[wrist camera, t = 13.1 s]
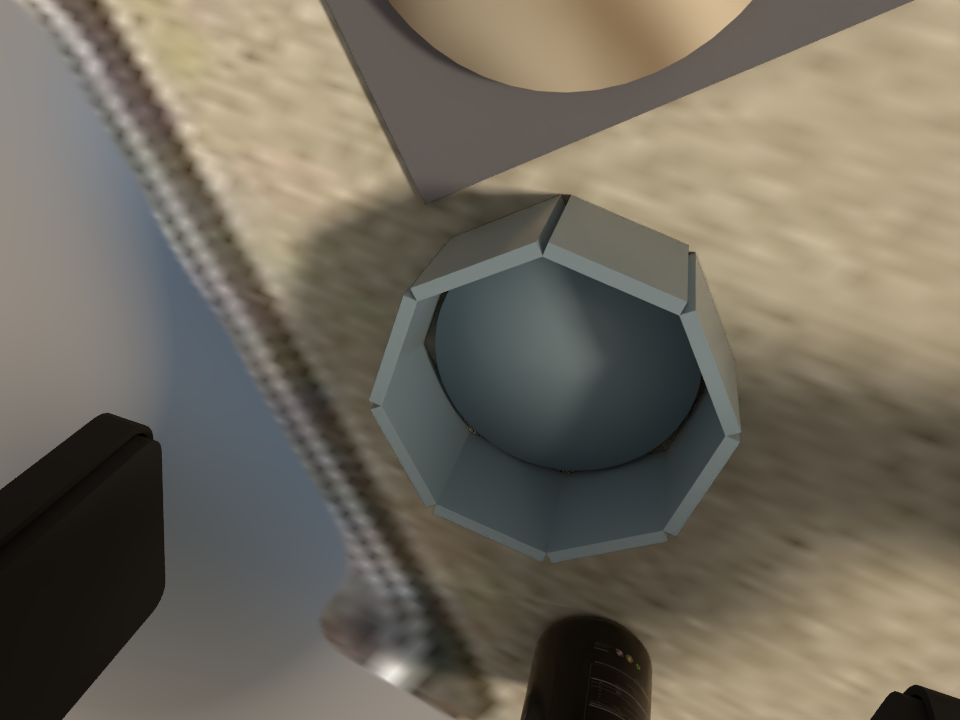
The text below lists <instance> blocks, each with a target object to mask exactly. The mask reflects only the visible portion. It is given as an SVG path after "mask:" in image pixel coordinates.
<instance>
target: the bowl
mask: <svg viewBox="0 0 960 720" xmlns="http://www.w3.org/2000/svg"><path fill="white" fill-rule="evenodd" d="M688 251H689V245H687V244H685V243H682V242H680V241H678V240H675V239H673V238H671V237H668V236H666V235H664V234H661V233H659V232H657V231H654V230H652V229H650V228H647V227H645V226H643V225H640V224H638V223H636V222H633V221H631V220H629V219H626V218H624V217H622V216H619V215H617V214H615V213H612V212H610V211H608V210H605V209H603V208H601V207H598V206H596V205H594V204H591V203H589V202H586V201H584V200H582V199H579V198H577V197H575V196H572V195H571V197H570V199H569V201H568V203H567V205H566V206H565V204H564V201H563V199H562V196H561V195H559V196H557V197H554V198H551V199H549V200H546V201H544V202H541V203H539V204H536V205H534V206H531V207H528V208H526V209H523V210H521V211H518V212H516V213H513V214H511V215H508V216H505V217H503V218H500V219H498V220H495V221H493V222H490V223H488V224H485V225H482V226H480V227H477V228H475V229H472V230H470V231H467V232H465V233H462V234H459V235H457V236H454V237H452V238H451V239H450V240H449V242H448V243H447V244H445V245H444V246H443V248H442V249H441V250H440V251H439V253H438V254H437V255H436V256H435V257H434V259H433V260H432V261H431V262H430V264H429V265H428V266H427V267H426V268H425V270H424V271H423V272H422V273H421V275H420V276H419V277H418V278H417V279H416V281H415V282H414V283H413V284H412V286H411V287H410V288H409V289H408V290H407V292H406V293H405V294H404V295H403V298H402V301H401V304H400V307H399V310H398V314H397V317H396V320H395V323H394V326H393V329H392V332H391V335H390V338H389V341H388V344H387V347H386V350H385V353H384V356H383V359H382V362H381V365H380V368H379V371H378V374H377V378H376V381H375V384H374V387H373V390H372V393H371V396H370V399H369V401H371V402H373V403H374V405H373V406H372V408H371V409H370V410H371V412H372V414H373V416H374V417H375V419H376V421H377V423H378V424H379V426H380V428H381V430H382V431H383V433H384V435H385V437H386V438H387V440H388V442H389V444H390V445H391V447H392V449H393V451H394V452H395V454H396V456H397V458H398V459H399V461H400V463H401V465H402V467H403V468H404V470H405V472H406V474H407V475H408V477H409V479H410V481H411V482H412V484H413V486H414V488H415V489H416V491H417V493H418V495H419V496H420V498H421V500H422V502H423V503H424V505H425V507H428V506H432V505H436V507H435V509H434V512H433V514H435V515H438V516H440V517H442V518H444V519H447V520H449V521H451V522H453V523H456V524H458V525H460V526H462V527H464V528H467V529H469V530H471V531H473V532H476V533H478V534H480V535H482V536H485V537H487V538H489V539H491V540H494V541H496V542H498V543H500V544H503V545H505V546H507V547H509V548H511V549H514V550H516V551H518V552H520V553H523V554H525V555H527V556H529V557H532V558H534V559H536V560H538V561H541V562H542V561H543V559H544V557H545V555H546V554H547V556H548V557H549V559H550V561H551V563H556V562H561V561H566V560H572V559H577V558H582V557H588V556H593V555H598V554H604V553H609V552H614V551H619V550H625V549H630V548H635V547H641V546H646V545H651V544H657V543H662V542H667V541H668V533H669V534H671V535H674V536H677V534H678V533H679V531H680V530H681V528H682V527H683V526H684V524H685V523H686V521H687V520H688V518H689V517H690V515H691V514H692V512H693V511H694V509H695V508H696V506H697V505H698V503H699V502H700V500H701V499H702V498H703V496H704V495H705V493H706V492H707V490H708V489H709V487H710V486H711V484H712V483H713V481H714V480H715V478H716V477H717V475H718V474H719V473H720V471H721V470H722V468H723V467H724V465H725V464H726V462H727V461H728V459H729V458H730V456H731V455H732V453H733V452H734V450H735V449H736V448H737V446H738V445H739V443H740V435H739V433H741V423H740V412H739V402H738V391H737V380H736V369H735V359H734V356H733V354H732V351H731V348H730V345H729V343H728V340H727V337H726V334H725V332H724V329H723V326H722V323H721V321H720V318H719V315H718V312H717V310H716V307H715V304H714V301H713V299H712V296H711V293H710V290H709V288H708V285H707V282H706V279H705V277H704V274H703V271H702V268H701V266H700V263H699V260H698V257H697V255H696V253H693V254H690V255H688ZM448 290H449V292H448V293H447V295H446V298H445V300H444V302H443V304H442V307H441V310H440V313H439V317H438V320H437V326H436V334H435V353H436V359H437V366H438V370H439V372H438V370H437V368H436V366H435V364H434V362H433V360H432V358H431V356H430V354H429V353H428V351H427V349H426V347H425V345H424V342H425V339H426V336H427V333H428V330H429V328H430V325H431V322H432V319H433V316H434V314H435V311H436V308H437V305H438V302H439V300H440V297H441V294H442V293H443V292H446V291H448ZM439 373H440V374H439ZM701 374H702V376H703V379H704V381H705V384H706V386H707V387H706V389H705V390H704V392H703V393H702V395H701V397H700V398H699V400H698V401H697V403H696V405H695V406H694V408H693V410H692V411H691V413H690V414H689V416H688V418H687V419H686V421H685V423H684V424H683V426H682V427H681V429H680V431H679V432H678V434H677V435H676V437H675V439H674V440H673V442H672V444H671V445H670V447H669V448H668V450H666V451H662V452H658V453H654V454H649V455H645V456H643V455H644V454H646V453H648V452H649V451H651V450H653V449H654V448H656V447H657V446H658V445H660V444H661V443H662V442H664V441H665V440H666V439H667V438H668V437H669V436H670V435H671V434H672V433H673V432H674V431H675V430H676V429H677V428H678V427H679V425H680V424H681V423H682V421H683V420H684V418H685V417H686V416H687V414H688V412H689V410H690V408H691V406H692V404H693V403H694V400H695V397H696V395H697V392H698V389H699V385H700V380H701ZM461 415H462V416H461ZM462 417H463V418H464V419H465V420H466V421H467V423H468V424H469V425H470V426H471V427H472V428H473V429H474V430H475V431H476V432H477V433H479V434H480V435H481V436H482V437H484V438H482V437H480V436H478V435H476V434H473V433H471V432H470V431H469V429H468V427H467V425H466V424H465V422H464V420H463V418H462ZM555 469H560V470H572V471H577V472H573V473H569V474H564V473H562V472H559V471H557V470H555Z"/></svg>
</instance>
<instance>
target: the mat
mask: <svg viewBox="0 0 960 720" xmlns="http://www.w3.org/2000/svg"><path fill="white" fill-rule="evenodd" d="M326 1H327V3H328V5H329V7H330V9H331V12H332V14H333V16H334V18H335V20H336V22H337V24H338V26H339V28H340V30H341V32H342V34H343V36H344V38H345V40H346V42H347V44H348V47H349V49H350V51H351V53H352V55H353V57H354V59H355V61H356V63H357V65H358V67H359V69H360V71H361V73H362V75H363V77H364V80H365V82H366V84H367V86H368V88H369V90H370V92H371V94H372V96H373V98H374V100H375V102H376V104H377V106H378V108H379V110H380V112H381V115H382V117H383V119H384V121H385V123H386V125H387V127H388V129H389V131H390V133H391V135H392V137H393V139H394V141H395V143H396V145H397V147H398V150H399V152H400V154H401V156H402V158H403V160H404V162H405V164H406V166H407V168H408V170H409V172H410V174H411V176H412V178H413V180H414V183H415V185H416V187H417V189H418V191H419V193H420V195H421V197H422V199H423V201H424V203H425V204H427V203H429V202H432V201H434V200H437V199H439V198H441V197H444V196H446V195H449V194H451V193H453V192H456V191H458V190H461V189H463V188H465V187H468V186H470V185H473V184H475V183H477V182H480V181H482V180H485V179H487V178H489V177H492V176H494V175H497V174H499V173H501V172H504V171H506V170H509V169H511V168H513V167H516V166H518V165H521V164H523V163H525V162H528V161H530V160H533V159H535V158H537V157H540V156H542V155H545V154H547V153H549V152H552V151H554V150H556V149H559V148H561V147H564V146H566V145H568V144H571V143H573V142H576V141H578V140H580V139H583V138H585V137H588V136H590V135H592V134H595V133H597V132H600V131H602V130H604V129H607V128H609V127H612V126H614V125H616V124H619V123H621V122H624V121H626V120H628V119H631V118H633V117H636V116H638V115H640V114H643V113H645V112H648V111H650V110H652V109H655V108H657V107H660V106H662V105H664V104H667V103H669V102H672V101H674V100H676V99H679V98H681V97H683V96H686V95H688V94H691V93H693V92H695V91H698V90H700V89H703V88H705V87H707V86H710V85H712V84H715V83H717V82H719V81H722V80H724V79H727V78H729V77H731V76H734V75H736V74H739V73H741V72H743V71H746V70H748V69H751V68H753V67H755V66H758V65H760V64H763V63H765V62H767V61H770V60H772V59H775V58H777V57H779V56H782V55H784V54H787V53H789V52H791V51H794V50H796V49H798V48H801V47H803V46H806V45H808V44H810V43H813V42H815V41H818V40H820V39H822V38H825V37H827V36H830V35H832V34H834V33H837V32H839V31H842V30H844V29H846V28H849V27H851V26H854V25H856V24H858V23H861V22H863V21H866V20H868V19H870V18H873V17H875V16H878V15H880V14H882V13H885V12H887V11H890V10H892V9H894V8H897V7H899V6H902V5H904V4H906V3H909V2H911V1H914V0H752V1H751V2H750V3H749V4H748V5H747V7H746V8H745V9H744V10H743V11H742V12H741V13H740V14H739V15H738V16H737V17H736V18H735V19H734V20H733V21H731V22H730V23H729V24H728V25H727V26H726V27H725V28H723V29H722V30H721V31H720V32H719V33H718V34H717V35H715V36H714V37H713V38H712V39H711V40H709V41H708V42H706V43H705V44H703V45H702V46H700V47H699V48H697V49H696V50H695V51H693V52H692V53H690V54H689V55H687V56H686V57H684V58H682V59H681V60H679V61H677V62H675V63H673V64H671V65H669V66H667V67H665V68H663V69H661V70H659V71H657V72H656V73H653V74H650V75H647V76H645V77H642V78H639V79H637V80H634V81H631V82H628V83H626V84H621V85H617V86H612V87H608V88H603V89H599V90H591V91H579V92H568V93H566V92H547V91H535V90H530V89H525V88H520V87H515V86H510V85H507V84H504V83H501V82H498V81H495V80H492V79H489V78H486V77H483V76H481V75H479V74H477V73H475V72H473V71H471V70H469V69H467V68H465V67H463V66H461V65H459V64H457V63H456V62H455V61H453V60H452V59H450V58H449V57H447V56H446V55H444V54H443V53H441V52H440V51H438V50H437V49H435V48H434V47H433V46H432V45H430V44H429V43H428V42H427V41H426V40H425V39H424V38H423V37H421V36H420V35H419V34H418V33H417V32H416V31H415V30H413V29H412V28H411V27H410V25H409V24H408V23H407V22H406V21H405V20H404V19H403V18H402V16H401V15H400V14H399V13H398V12H397V11H396V10H395V9H394V7H393V6H392V5H391V4H390V2H389V1H388V0H326Z"/></svg>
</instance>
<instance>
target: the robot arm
mask: <svg viewBox="0 0 960 720" xmlns="http://www.w3.org/2000/svg"><path fill="white" fill-rule="evenodd" d="M164 588H165V555H164V519H163V485H162V451H161V445H160V444H159V442H157V441H155V440H153V434H152V431H151V429H150V428H149V427H147V426H145V425H143V424H139V423H137V422H134V421H131V420H128V419H125V418H122V417H119V416H116V415H113V414H110V413H104V414H101V415H99V416H97V417H95V418H94V419H93V420H91V421H90V422H89V423H87V424H86V425H85V426H84V427H82V428H81V429H80V430H78V431H77V432H76V433H74V434H73V435H72V436H70V437H69V438H68V439H66V440H65V441H64V442H63V443H61V444H60V445H59V446H57V447H56V448H55V449H53V450H52V451H51V452H49V453H48V454H47V455H46V456H44V457H43V458H42V459H40V460H39V461H38V462H36V463H35V464H34V465H32V466H31V467H30V468H28V469H27V470H26V471H24V472H23V473H22V474H21V475H19V476H18V477H17V478H15V479H14V480H13V481H11V482H10V483H9V484H7V485H6V486H5V487H4V488H2V489H1V490H0V720H62V719H63V718H64V717H65V715H66V714H67V713H68V712H69V711H70V710H71V708H72V707H73V706H74V705H75V704H76V702H77V701H78V700H79V699H80V698H81V697H82V695H83V694H84V693H85V692H86V691H87V689H88V688H89V687H90V686H91V685H92V683H93V682H94V681H95V680H96V679H97V678H98V676H99V675H100V674H101V673H102V671H103V670H104V669H105V668H106V667H107V666H108V664H109V663H110V662H111V661H112V660H113V659H114V657H115V656H116V655H117V654H118V653H119V651H120V650H121V649H122V647H124V645H125V644H126V643H127V642H128V641H129V640H130V638H131V637H132V636H133V635H134V634H135V632H136V631H137V630H138V629H139V628H140V626H141V625H142V624H143V623H144V622H145V620H146V619H147V618H148V617H149V616H150V615H151V613H152V612H153V611H154V610H155V608H156V607H157V605H158V603H159V601H160V600H161V597H162V595H163V591H164ZM870 720H960V699H958V698H955V697H952V696H949V695H946V694H943V693H940V692H937V691H934V690H931V689H928V688H925V687H922V686H919V685H913V686H911V687H909V688H908V689H907V690H906V691H905V692H904V693H903V694H902V693H899V692H896V691H894V692H892V693H890V694H889V695H888V696H887V697H886V699H885V700H884V701H883V703H882V704H881V706H880V707H879V708H878V710H877V711H876V712H875V714H874V715H873V717H872V718H871V719H870Z"/></svg>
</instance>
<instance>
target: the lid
mask: <svg viewBox="0 0 960 720" xmlns="http://www.w3.org/2000/svg"><path fill="white" fill-rule="evenodd" d="M388 1H389V2H390V4H391V5H392V6H393V7H394V9H395V10H396V11H397V12H398V13H399V14H400V15H401V16H402V18H403V19H404V20H405V21H406V22H407V23H408V24H409V25H410V27H411V28H412V29H413V30H415V31H416V32H417V33H418V34H419V35H420V36H421V37H423V38H424V39H425V40H426V41H427V42H428V43H429V44H430V45H432V46H433V47H434V48H435V49H437V50H438V51H440V52H441V53H443V54H444V55H446V56H447V57H449V58H450V59H452V60H453V61H455V62H456V63H457V64H459V65H461V66H463V67H465V68H467V69H469V70H471V71H473V72H475V73H477V74H479V75H481V76H483V77H486V78H489V79H492V80H495V81H498V82H501V83H504V84H507V85H510V86H515V87H520V88H525V89H530V90H535V91H547V92H566V93H568V92H579V91H591V90H599V89H603V88H608V87H612V86H617V85H621V84H626V83H628V82H631V81H634V80H637V79H639V78H642V77H645V76H647V75H650V74H653V73H656V72H657V71H659V70H661V69H663V68H665V67H667V66H669V65H671V64H673V63H675V62H677V61H679V60H681V59H682V58H684V57H686V56H687V55H689V54H690V53H692V52H693V51H695V50H696V49H697V48H699V47H700V46H702V45H703V44H705V43H706V42H708V41H709V40H711V39H712V38H713V37H714V36H715V35H717V34H718V33H719V32H720V31H721V30H722V29H723V28H725V27H726V26H727V25H728V24H729V23H730V22H731V21H733V20H734V19H735V18H736V17H737V16H738V15H739V14H740V13H741V12H742V11H743V10H744V9H745V8H746V7H747V5H748V4H749V3H750V2H751V1H752V0H388Z"/></svg>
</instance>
